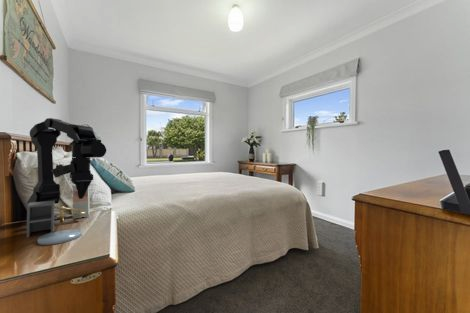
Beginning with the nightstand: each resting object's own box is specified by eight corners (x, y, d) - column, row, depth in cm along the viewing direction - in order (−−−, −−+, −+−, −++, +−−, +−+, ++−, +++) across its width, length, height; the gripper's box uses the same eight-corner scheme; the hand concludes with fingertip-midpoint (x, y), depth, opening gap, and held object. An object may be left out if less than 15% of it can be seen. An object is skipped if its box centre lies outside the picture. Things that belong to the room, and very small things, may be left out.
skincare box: (88, 217, 91) (89, 184, 92) (71, 219, 88) (72, 184, 88) (89, 213, 98) (90, 182, 99) (73, 214, 95) (74, 183, 95)
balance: (34, 228, 76) (34, 207, 76) (35, 225, 80) (36, 205, 80) (86, 220, 86) (86, 202, 86) (85, 218, 90) (85, 200, 90)
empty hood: (29, 232, 72) (29, 217, 72) (54, 228, 77) (54, 214, 77) (26, 237, 67) (26, 221, 67) (53, 233, 72) (53, 218, 72)
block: (73, 200, 79) (73, 190, 79) (86, 199, 82) (86, 189, 82) (74, 202, 76) (74, 191, 76) (87, 200, 79) (87, 190, 79)
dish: (53, 233, 71) (53, 230, 71) (88, 231, 73) (88, 228, 73) (27, 246, 61) (27, 242, 61) (69, 243, 63) (69, 240, 63)
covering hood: (29, 217, 72) (29, 202, 73) (54, 214, 77) (54, 200, 77) (26, 221, 67) (27, 205, 67) (53, 218, 72) (53, 203, 72)
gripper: (54, 157, 81) (53, 196, 81) (52, 157, 67) (51, 204, 67) (88, 157, 88) (87, 193, 88) (93, 157, 74) (93, 200, 74)
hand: (80, 197), depth 79 cm, fingers closed on block, 4 cm apart
